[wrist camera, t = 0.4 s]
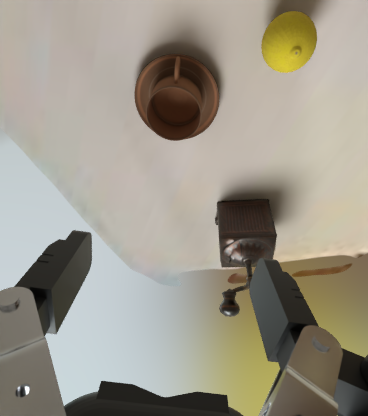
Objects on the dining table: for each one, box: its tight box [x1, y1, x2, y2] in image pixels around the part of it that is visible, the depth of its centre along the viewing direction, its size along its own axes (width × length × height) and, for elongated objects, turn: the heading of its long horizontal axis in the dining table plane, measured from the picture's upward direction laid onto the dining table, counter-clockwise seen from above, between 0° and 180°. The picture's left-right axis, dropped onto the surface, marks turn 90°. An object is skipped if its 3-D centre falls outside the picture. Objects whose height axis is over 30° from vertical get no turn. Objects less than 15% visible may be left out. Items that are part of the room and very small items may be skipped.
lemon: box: [262, 11, 317, 73], centre depth 28 cm, size 6×6×8 cm
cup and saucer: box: [135, 54, 219, 141], centre depth 35 cm, size 12×12×6 cm
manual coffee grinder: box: [215, 199, 277, 317], centre depth 50 cm, size 16×11×18 cm
